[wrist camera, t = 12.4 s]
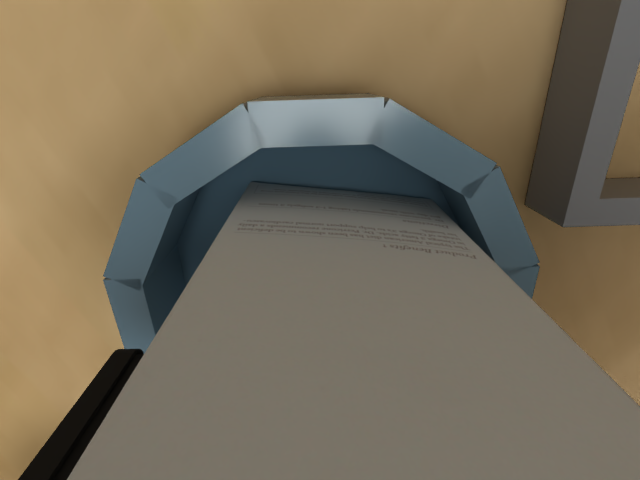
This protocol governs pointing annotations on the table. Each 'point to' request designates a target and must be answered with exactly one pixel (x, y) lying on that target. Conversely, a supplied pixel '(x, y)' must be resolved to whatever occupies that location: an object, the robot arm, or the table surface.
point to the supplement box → (360, 360)
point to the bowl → (305, 171)
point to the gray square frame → (588, 118)
